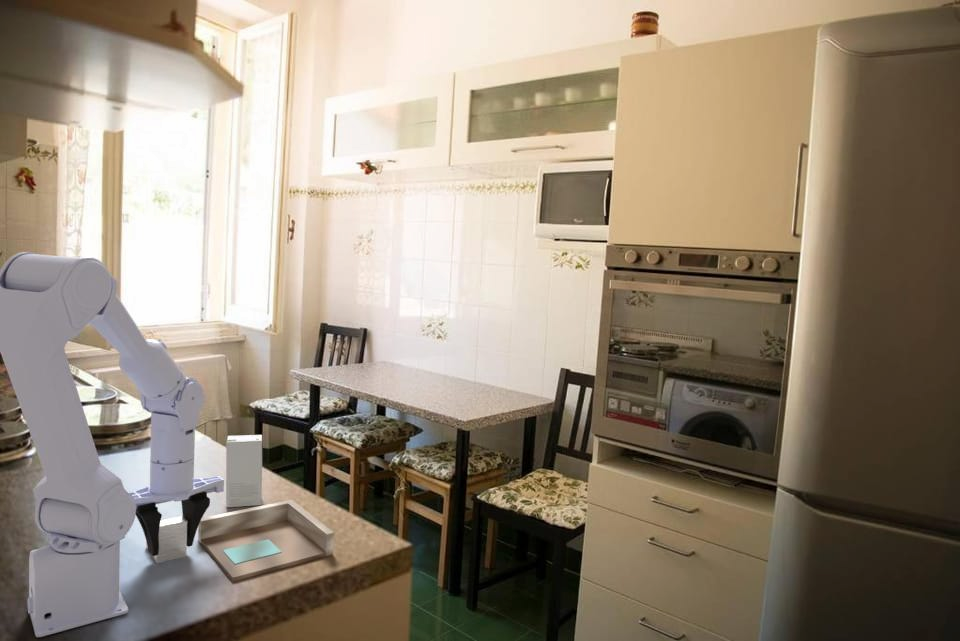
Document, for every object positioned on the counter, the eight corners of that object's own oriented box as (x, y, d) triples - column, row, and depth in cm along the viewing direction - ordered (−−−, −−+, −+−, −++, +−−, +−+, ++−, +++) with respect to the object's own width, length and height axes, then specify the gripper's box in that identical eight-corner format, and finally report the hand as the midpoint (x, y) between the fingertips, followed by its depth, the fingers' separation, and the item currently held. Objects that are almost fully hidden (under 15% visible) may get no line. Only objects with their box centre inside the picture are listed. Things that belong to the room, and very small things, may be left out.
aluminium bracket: (156, 563, 92) (157, 526, 91) (146, 547, 96) (146, 512, 96) (186, 556, 94) (187, 520, 94) (174, 541, 99) (175, 506, 98)
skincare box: (261, 497, 118) (263, 433, 117) (261, 506, 114) (263, 440, 113) (225, 499, 116) (227, 434, 115) (224, 509, 112) (226, 441, 111)
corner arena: (232, 581, 88) (233, 557, 88) (198, 540, 100) (198, 518, 99) (332, 554, 98) (334, 532, 98) (291, 519, 110) (291, 499, 109)
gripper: (126, 475, 84) (125, 574, 86) (233, 456, 95) (231, 544, 96) (109, 461, 89) (108, 554, 91) (213, 444, 100) (211, 528, 101)
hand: (170, 548), depth 94 cm, fingers closed on aluminium bracket, 4 cm apart
